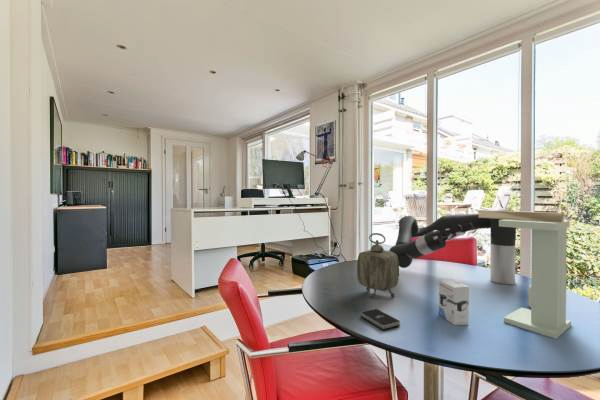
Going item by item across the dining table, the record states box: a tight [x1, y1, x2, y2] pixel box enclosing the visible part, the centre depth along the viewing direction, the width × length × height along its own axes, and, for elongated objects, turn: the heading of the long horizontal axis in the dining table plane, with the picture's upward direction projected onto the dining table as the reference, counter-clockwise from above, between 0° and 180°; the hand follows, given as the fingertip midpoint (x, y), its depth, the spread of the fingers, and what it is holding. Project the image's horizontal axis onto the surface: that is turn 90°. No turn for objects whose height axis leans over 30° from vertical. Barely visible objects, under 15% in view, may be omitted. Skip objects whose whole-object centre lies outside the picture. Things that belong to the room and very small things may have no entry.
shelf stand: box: [499, 219, 572, 339], centre depth 87 cm, size 14×14×32 cm
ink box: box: [438, 279, 470, 326], centre depth 90 cm, size 8×5×12 cm, turn 5°
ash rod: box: [477, 209, 565, 222], centre depth 91 cm, size 3×22×3 cm, turn 34°
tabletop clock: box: [356, 232, 400, 298], centre depth 111 cm, size 14×9×25 cm, turn 47°
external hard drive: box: [360, 308, 401, 332], centre depth 89 cm, size 7×11×2 cm, turn 25°
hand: (466, 226), depth 104 cm, fingers open, 8 cm apart
